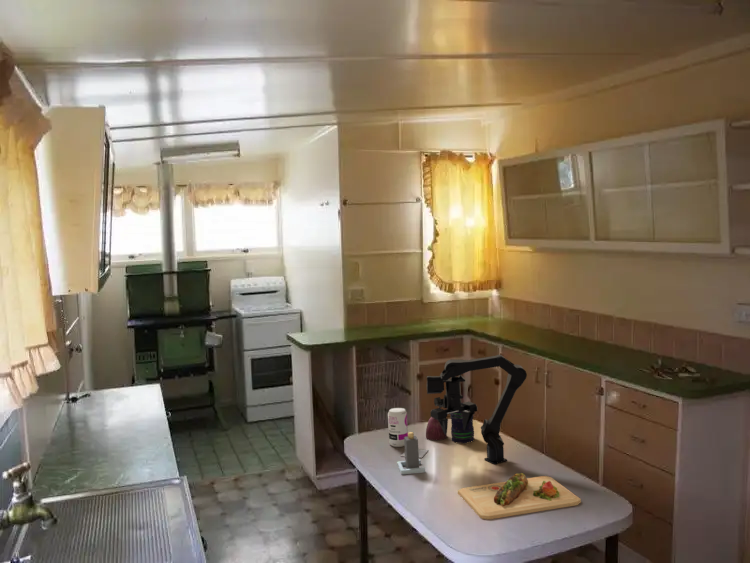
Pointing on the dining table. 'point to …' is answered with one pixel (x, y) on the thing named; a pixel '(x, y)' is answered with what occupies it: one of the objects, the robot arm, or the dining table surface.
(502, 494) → the cutting board
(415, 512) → the dining table surface
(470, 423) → the storage jar
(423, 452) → the grey pad
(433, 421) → the vegetable
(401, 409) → the supplement can
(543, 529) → the dining table surface
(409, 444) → the plug block
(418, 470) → the blue bay
